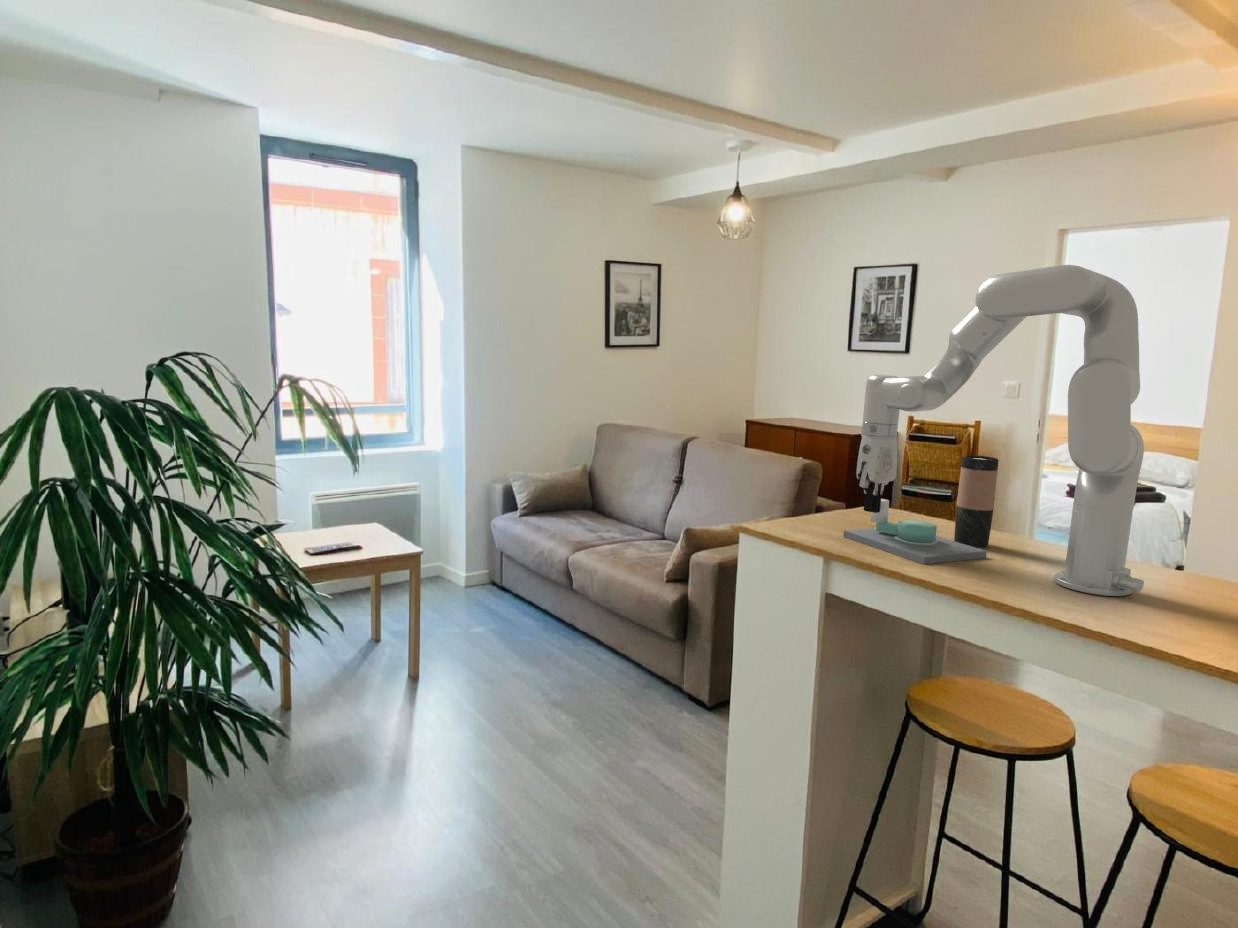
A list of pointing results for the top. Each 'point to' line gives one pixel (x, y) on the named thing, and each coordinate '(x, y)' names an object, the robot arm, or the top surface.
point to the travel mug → (975, 500)
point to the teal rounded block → (903, 526)
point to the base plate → (916, 547)
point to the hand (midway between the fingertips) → (871, 511)
